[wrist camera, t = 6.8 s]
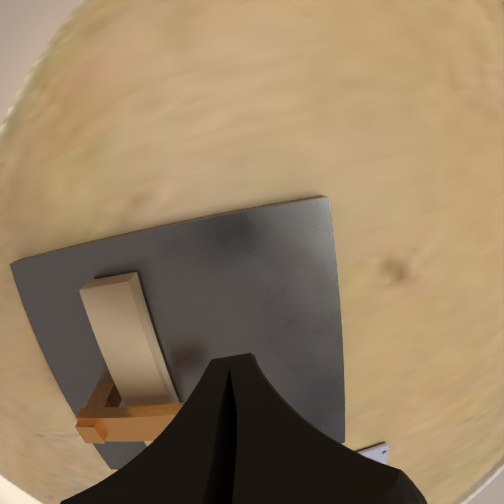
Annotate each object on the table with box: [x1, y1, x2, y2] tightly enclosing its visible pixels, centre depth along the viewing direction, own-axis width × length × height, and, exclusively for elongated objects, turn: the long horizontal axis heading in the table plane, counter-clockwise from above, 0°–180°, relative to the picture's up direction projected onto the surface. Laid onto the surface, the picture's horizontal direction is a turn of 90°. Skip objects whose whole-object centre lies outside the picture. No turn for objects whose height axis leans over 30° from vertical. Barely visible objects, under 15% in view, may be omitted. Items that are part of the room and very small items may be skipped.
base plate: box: [10, 195, 345, 470], centre depth 17 cm, size 19×20×6 cm
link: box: [79, 272, 179, 446], centre depth 18 cm, size 15×4×2 cm, turn 10°
